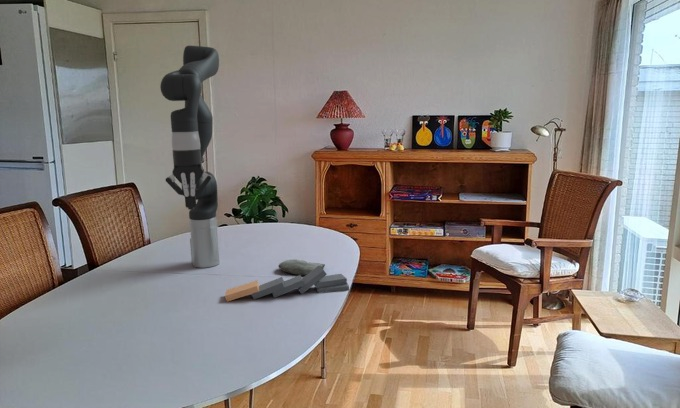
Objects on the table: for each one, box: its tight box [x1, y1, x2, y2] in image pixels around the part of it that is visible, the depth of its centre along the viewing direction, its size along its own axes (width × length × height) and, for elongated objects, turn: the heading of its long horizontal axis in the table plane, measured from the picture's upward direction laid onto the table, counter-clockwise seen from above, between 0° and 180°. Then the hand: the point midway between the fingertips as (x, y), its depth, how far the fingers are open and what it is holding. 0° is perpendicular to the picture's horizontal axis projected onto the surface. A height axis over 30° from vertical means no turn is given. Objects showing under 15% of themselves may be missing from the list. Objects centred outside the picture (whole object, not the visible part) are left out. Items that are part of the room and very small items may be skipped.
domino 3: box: [271, 275, 304, 298], centre depth 150 cm, size 2×5×10 cm
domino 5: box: [313, 273, 348, 289], centre depth 155 cm, size 2×5×10 cm
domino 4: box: [296, 266, 328, 295], centre depth 153 cm, size 2×5×10 cm
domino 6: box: [316, 282, 350, 294], centre depth 154 cm, size 2×5×10 cm
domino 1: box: [224, 280, 260, 302], centre depth 148 cm, size 2×5×10 cm
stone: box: [278, 259, 326, 276], centre depth 171 cm, size 11×4×15 cm
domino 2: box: [251, 276, 284, 301], centre depth 149 cm, size 2×5×10 cm
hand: (191, 208), depth 143 cm, fingers closed
